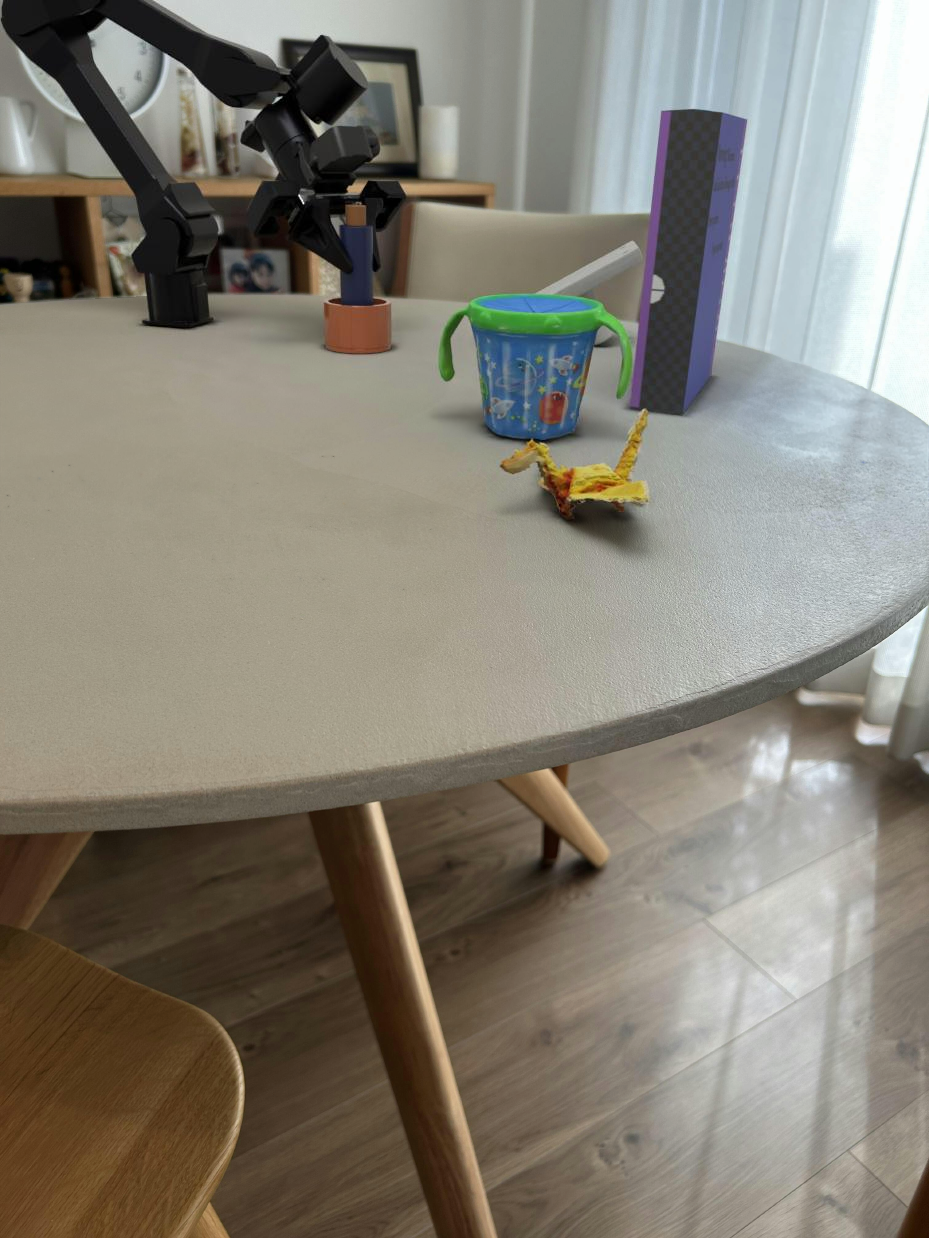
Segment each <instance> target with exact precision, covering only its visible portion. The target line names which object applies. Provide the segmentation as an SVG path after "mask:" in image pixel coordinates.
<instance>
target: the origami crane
mask: <svg viewBox="0 0 929 1238" xmlns="http://www.w3.org/2000/svg"><path fill="white" fill-rule="evenodd" d="M648 415H649V411H647V409H643V410H640V411H639V413H638V414H636V417H635V421H634V424H633V425H632V426H631V427H630V429H629V430H628V432H627V434H626V435H627V440H625V444H626V446H625V447H624V448H623V450H622V453H621V454H622V455H621V456H620V458H619V461H618V463H617V465H616V466H615V468H614V470H613V469H612V467H610V466H608V465H607V464H606V463H605V462H601V463H597V464H589V465H584V466H577V467H571V468H570V469H568V468H567V465H564V464H559V465H560V468H558V467H557V465H556V464H555V462H554V460H553V459H551V457H552V455H551V454H549V450H550V449H551V448H550V447H549V446H548V445H547V444H546V443H544V442H541V441H540V442H539V444H538V443H536V441H534V439H533V438H532V439H530V441H526V444H525V446H526V447H525V448H522V449H520V450H519V449H518V448H515V449H514V454H513V455H512V456H511V457H510V458H504V460H502V461H501V463H500V464H499V468H501V469H502V470H503V471H504V472H506V473H509V474H511V475H515V474H519V473H522V472H523V471H526V470H527V469H531V464H537V468H538V472H539V473H540V477H541V478H540V479H539V482H538V483H537V485H539V486H540V487H541V488H542V489H545V491H548V492H550V493H551V494H552V496H553V497H554V498H555V502H556V506H557V507H558V509H559V511H558V514H559V515H560V516H561V517H563V518H564V519H565V520H567V521H570V520H575V516H574V515H573V514H572V513H571V510H572V509H574V508H577V507H578V505H585V504H584V503H585V502H586V500H585V499H591V500H592V499H593V500H594V501H606V502H608V503H611V504H613V505H614V506H613V507H614V510H616V512H618V513H619V512H621V513H624V511H625V505H621V503H622V504H625V503H629V502H631V504H632V505H633V506H635V507H641V508H642V507H644V506H646V505H650V492H649V491H650V490H649V484H648V481H647V480H638V481H633V478H634V471H635V468H636V463H637V462H638V460H639V457H640V456H639V455H640V453H641V450H642V446H643V437H642V433H643V432H644V430H645V429H646V428H648ZM617 454H618V453H616V455H617ZM574 501H577V504H578V505H575V504H574V503H571V502H574ZM641 502H643V503H641Z"/></svg>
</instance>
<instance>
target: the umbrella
mask: <svg viewBox="0 0 929 1238" xmlns="http://www.w3.org/2000/svg"><path fill="white" fill-rule="evenodd" d="M345 222H346V224H343V223H342V224H338V236H339V237H340V239H341V241H342V243H343V245H344V247H345V249H346V251H347V253H348V255H349V257H350V259H351V262H352V264H353V267H354V269H353V271H352V272H351V274H345V273H344V272H342V271H341V270H339V284H340V285H339V286H340V287H339V288H340V297H341V305H349V306H372V305H373V297H374V271H373V226H371V225H366V206H365V205H345Z"/></svg>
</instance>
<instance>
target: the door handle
mask: <svg viewBox="0 0 929 1238" xmlns="http://www.w3.org/2000/svg"><path fill="white" fill-rule="evenodd" d="M643 257H644V256H643V254H642V252H641V249H640V247H639V246H638V245H637V243H636V242H635V241H634V240H631V241H628V242H627V243H624V244H623V245H621V246H619V247H618V248H615V249H614V250H612V251H610V252H609V253H607V254H605V255H603V256H601V257H599V258H598V259H596V260H594V261H592V262H590V263H588V264H586V265H584V266H583V267H581V268H579V269H577V270H576V271H574V272H572V273H570V274H568V275H567V276H564V277H562V278H561V279H559V280H557V281H555V282H553V283H552V284H550V285H548V286H546V287H544V288H542V289H541V290H539V291H537V292H535V293H534V294H553V295H566V296H575V297H582V298H587V299H591V300H595V301H598V299H597V296H596V295H595V292H594V289H595V288H597V287H599V286H600V285H602V284H604V283H606V282H608V281H610V280H612V279H614V278H616V277H617V276H619V275H621V274H623V273H625V272H627V271H629V270H631V269H632V268H634V267H636V266H638V265H640V264H642V263H644V258H643ZM615 335H616V333H614V332H613V331H611V330H610V329H608V328H607V327H606V326H601V327H600V328H599V329H598V331H597V335H596V340H595V343H594V346H597V345H601V344H604V343H605V342H607V341H609V340H610V339H611V338H613V337H614V336H615Z"/></svg>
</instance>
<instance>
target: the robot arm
mask: <svg viewBox="0 0 929 1238" xmlns="http://www.w3.org/2000/svg"><path fill="white" fill-rule="evenodd" d="M0 8H1V9H0V10H1V16H0V23H1V26H2V29H3V30H4V33H5V35H6V36H7V38H9V40H10V41H11V42H12V43H13V44H14V45H15V46H16V47H17V48H18V50H19V51H20V52H21V53H23V56H25V57H26V58H27V59H28V60H29V61H30V62H31V63H33V64H34V65H35V66H36V67H38V68H39V69H41V70H42V71H43V72H44V73H45V74H47V75H48V76H49V77H51V78H52V79H53V80H54V81H55V82H56V83H57V84H58V85H59V87H60V88H61V89H62V91H63V93H64V94H65V95H66V97H67V99H68V100H69V101H70V103H71V104H72V106H73V107H74V109H75V110H76V112H77V113H78V114H79V116H80V117H81V119H82V120H83V122H84V123H85V125H86V126H87V128H88V129H89V131H90V132H91V134H92V135H93V136H94V138H95V139H96V140H97V142H98V143H99V145H100V147H101V148H102V149H103V151H104V153H105V154H106V155H107V157H108V158H109V160H110V161H111V163H112V164H113V166H114V167H115V169H116V170H117V171H118V173H119V174H120V176H121V177H122V179H123V180H124V182H125V184H126V185H127V186H128V188H129V189H130V190H131V192H132V194H133V196H134V198H135V203H136V208H137V213H138V220H139V222H140V224H141V227H142V228H143V230H144V233H145V236H144V237H143V239H142V240H141V241H140V242H139V244H138V245H137V246H136V247H135V249H134V250H133V251H132V252H131V254H130V257H131V260H132V262H133V265H134V267H135V269H136V272H137V273H138V274H143V277H144V285H145V294H146V303H147V304H146V305H147V311H148V317H147V318H142V319H141V324H143V325H154V326H165V327H176V328H177V327H178V328H191V327H194V326H199V325H201V324H204V323H208V322H211V321H214V315H210V305H209V303H210V302H209V293H208V285H207V284H206V282H204V273H203V270H202V269H205V268H207V267H208V264H209V260H210V257H211V256H210V255H211V252H212V251H213V250H214V249H215V248H216V245H217V243H218V240H219V232H220V228H219V225H218V222H217V220H216V218H215V216H214V215H213V214H216V213H217V210H216V209H215V208H213V207H212V206H211V204H209V203H208V202H207V200H206V199H205V197H204V194H203V193H202V190H201V189H200V187H199V185H197V183H196V182H195V181H181V182H180V181H178V180H176V179H175V178H173V177H172V176H171V174H170V173H169V172H168V170H167V169H166V167H165V166H164V164H163V163H162V162H161V160H160V158H159V157H158V156H157V154H156V153H155V152H154V150H153V148H152V147H151V145H150V143H149V142H148V141H147V139H146V138H145V136H144V135H143V133H142V132H141V130H140V129H139V127H138V126H137V124H136V122H135V121H134V120H133V118H132V117H131V115H130V114H129V113H128V111H127V109H126V108H125V107H124V105H123V103H122V102H121V100H120V99H119V97H118V96H117V94H116V93H115V91H114V90H113V89H112V87H111V85H110V84H109V83H108V81H107V79H106V78H105V76H104V75H103V73H102V72H101V71H100V69H99V68H98V65H97V64H96V62H95V60H94V59H95V58H94V53H93V47H92V42H91V37H90V35H89V33H91V32H94V31H96V30H97V29H99V27H101V25H103V23H105V21H107V20H109V21H111V22H112V23H114V24H116V25H117V26H119V27H120V28H122V29H124V30H126V31H127V32H129V33H131V34H132V35H133V36H135V37H137V38H139V39H140V40H142V41H144V42H145V43H148V44H149V45H150V46H152V47H154V48H155V49H157V50H158V51H160V52H162V53H163V54H165V55H166V56H169V57H170V58H172V59H173V60H175V61H177V62H178V63H180V64H182V65H183V67H185V68H186V69H188V70H189V72H191V74H193V76H194V77H195V78H196V79H197V82H199V83H200V84H201V86H203V87H204V88H205V89H206V90H207V91H208V92H210V93H211V94H212V95H213V96H214V97H215V98H216V99H218V100H219V101H220V102H221V103H222V104H224V105H225V106H226V107H227V106H228V107H230V108H235V109H246V110H257V111H258V110H259V112H258V114H257V115H256V116H255V117H254V118H253V119H252V120H249V119H247V120H245V122H244V128H243V130H242V132H241V134H240V137H239V138H240V139H239V143H240V144H241V145H243V146H245V147H247V148H249V149H250V150H253V151H255V152H257V153H260V154H263V152H265V151H266V153H267V154H268V156H269V158H270V160H271V162H272V163H273V165H274V167H275V168H276V170H277V172H278V173H277V175H276V177H275V179H274V180H272V179H269V180H264V179H262V180H261V181H260V184H259V186H258V188H257V190H256V192H255V194H254V196H253V197H252V200H251V201H250V204H249V205H248V208H247V210H246V212H245V223H246V225H247V227H248V229H249V230H250V232H251V233H252V236H253V237H254V238H255V239H265V238H266V239H267V238H276V237H277V235H278V233H279V231H280V229H281V226H280V225H279V223H278V218H279V217H285V220H286V221H287V224H288V226H289V229H288V232H287V233H286V235H285V238H286V241H288V242H289V243H295V244H297V245H299V246H300V247H302V248H304V249H306V250H307V251H310V252H311V253H313V254H314V255H316V256H318V257H320V259H323V260H324V261H326V262H327V263H329V264H330V265H332V266H333V267H335V268H337V269H338V270H339V271H340V270H341V271H342V272H344V273H345V274H351V272H352V271H353V269H354V267H353V264H352V262H351V259H350V257H349V255H348V253H347V251H346V249H345V247H344V245H343V243H342V241H341V239H340V237H339V233H338V232H337V230H336V228H335V226H334V224H333V222H332V218H334V219H335V218H337V219H339V220H340V222H342V225H343V224H346V222H345V205H365V206H366V225H371V226H373V273H378V272H379V270H380V269H381V268H382V262H381V255H380V248H379V244H378V243H379V242H378V237H377V233H381V232H382V231H383V232H384V230H386V229H387V228H388V227H389V225H390V223H391V222H392V220H393V219H394V218H395V216H396V214H397V213H398V212H399V210H400V209H401V207H402V205H403V204H404V203H405V201H406V200H407V198H408V197H407V194H406V191H405V190H404V189H403V187H402V185H401V183H400V182H399V180H392V179H389V180H388V179H370V180H369V179H368V180H367V181H366V183H365V185H364V186H363V188H362V190H361V191H360V192H349V190H348V188H349V187H352V186H354V184H355V182H356V180H357V178H358V177H357V175H356V173H355V171H357V170H358V169H359V168H361V167H362V166H364V165H365V164H366V163H371V162H372V161H373V160H374V159H375V158H376V157H378V156H379V155H380V153H381V144H380V142H379V138H378V136H377V134H376V133H375V131H374V130H373V128H372V127H371V126H370V125H361V124H359V125H354V126H352V125H335V124H336V123H337V122H338V120H340V119H341V118H342V116H343V115H344V114H346V113H347V111H349V109H350V108H351V107H352V106H354V104H355V103H356V102H357V101H358V100H359V99H360V98H361V97H362V96H363V95H364V94H365V93H366V92H367V91H368V90H369V89H370V84H369V81H368V79H367V77H366V75H365V73H364V72H363V71H362V69H361V68H360V66H359V65H358V64H357V62H356V61H354V60H352V59H351V58H350V57H349V56H348V55H347V53H346V52H344V51H343V49H342V48H341V47H340V46H338V45H337V44H336V43H335V42H334V40H333V39H332V38H331V36H329V35H325V34H320V35H318V37H317V38H316V39H315V40H314V42H313V43H312V45H311V46H310V48H309V50H307V52H306V53H305V55H303V56H302V57H301V59H299V61H298V62H297V63H296V64H295V65H294V66H293V67H292V68H286V67H280V66H277V64H276V63H275V61H274V59H272V58H271V57H270V56H269V55H268V54H266V53H264V52H261V51H259V50H256V49H253V48H250V47H248V46H245V45H242V44H239V43H237V42H233V41H230V40H228V39H224V38H221V37H218V36H216V35H213V34H211V33H207V32H206V31H205V30H203V29H202V28H200V27H198V26H196V25H195V24H193V23H192V22H190V21H188V20H186V19H185V18H183V17H182V16H180V15H178V14H177V13H175V12H173V11H171V10H170V9H168V8H166V7H165V6H163V5H162V4H160V3H158V2H156V1H155V0H2V3H1V7H0ZM277 98H279V99H278V100H277V101H276V99H277ZM310 121H311V122H312V123H314V124H315V125H318V126H319V125H321V124H322V123H324V124H326V125H328V126H332V127H329V128H328V129H327V130H325V131H324V132H323V133H321V134H320V135H319V136H318V134H317V133H316V131H315V129H314V127H313V125H312V124H311V122H310ZM334 125H335V126H334Z"/></svg>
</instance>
